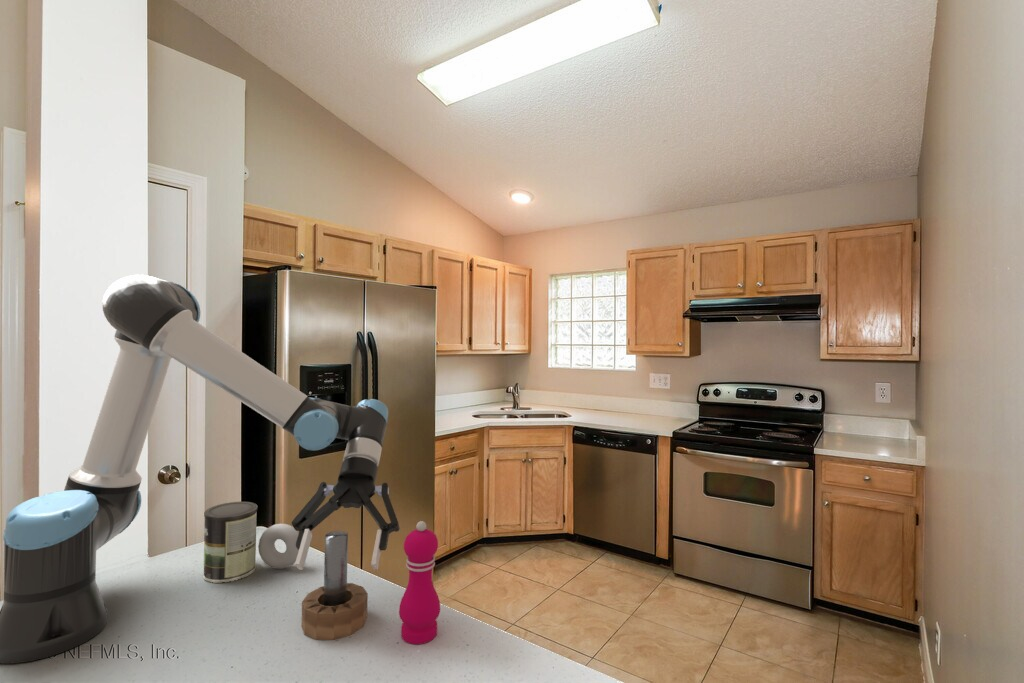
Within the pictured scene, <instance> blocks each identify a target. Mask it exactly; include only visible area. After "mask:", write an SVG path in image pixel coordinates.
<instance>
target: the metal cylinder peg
mask: <svg viewBox="0 0 1024 683" xmlns="http://www.w3.org/2000/svg"><path fill="white" fill-rule="evenodd" d="M348 544H349V533H348V532H347V531H344V530H336V531H331V532H328V533H326V534H325V535H324V565H323V566H324V569H323V570H324V572H323V586H324V606H337V605H341V604H344V603H346V602H347V583H348V553H349V552H348V551H349V550H348V549H349V545H348Z"/></svg>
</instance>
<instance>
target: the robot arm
mask: <svg viewBox="0 0 1024 683" xmlns="http://www.w3.org/2000/svg"><path fill="white" fill-rule="evenodd" d="M101 304H102V312H103V314H104V317H105V319H106V321H107V322H108V323H109V325H110V326H111V327H113V329H115V333H114V336H113V339H114V340H115V342H116V343H117V345H119V348H120V349H119V353H118V355H117V358H116V361H115V365H114V368H113V371H112V374H111V377H110V380H109V382H108V385H107V389H106V392H105V395H104V399H103V401H102V405H101V408H100V411H99V414H98V415H97V416H98V417H97V420H96V423H95V426H94V429H93V432H92V435H91V439H90V442H89V444H88V448H87V451H86V454H85V456H84V460H83V463H82V465H80V466H79V467H78V468H76V469H73V470H72V471H70V472H69V475H68V477H67V480H66V483H65V486H64V490H60V491H55V492H50V493H46V494H44V495H43V496H36V497H33V498H30V499H28V500H26V501H23V502H21V503H19V504H18V505H16V506H15V507H14V508H13V509H11V510H10V512H9V513H8V515H7V517H6V519H5V529H4V530H3V538H2V539H3V542H4V544H3V546H4V548H3V549H4V552H3V555H4V556H3V561H4V562H3V570H4V571H3V602H2V606H1V607H0V664H20V663H21V664H22V663H28V662H31V661H32V662H33V661H36V660H37V661H38V660H43V659H46V658H49V657H52V656H55V655H59V654H61V653H63V652H66V651H69V650H71V649H74V648H76V647H78V646H80V645H82V644H84V643H86V642H88V641H89V640H91V639H93V638H94V637H95V636H97V635H98V634H100V632H102V630H103V629H104V628H105V627H106V626H107V622H108V607H107V605H106V603H105V602H104V600H103V597H102V595H101V592H100V589H99V587H98V584H97V582H96V580H97V579H96V578H97V577H96V569H97V568H96V567H97V566H96V565H97V551H98V550H100V548H102V547H103V546H104V545H106V544H107V543H108V542H110V541H111V540H112V539H114V538H115V537H116V536H119V534H121V533H123V532H124V531H125V530H126V529H127V528H128V527H129V526H130V525H131V524H132V522H134V520H135V519H136V518H137V516H138V514H139V512H140V509H141V506H142V495H141V491H140V490H139V489H140V486H141V483H142V479H143V478H142V476H141V475H140V473H138V471H137V466H138V464H139V461H140V457H141V454H142V451H143V448H144V444H145V442H146V439H147V435H148V431H149V428H150V426H151V422H152V419H153V416H154V414H155V411H156V408H157V404H158V401H159V397H160V394H161V391H162V388H163V385H164V381H165V379H166V375H167V372H168V369H169V366H170V363H171V361H172V360H171V359H174V360H175V361H176V362H178V363H179V364H182V365H183V366H185V367H186V368H188V369H189V370H190V371H193V372H194V373H196V374H198V375H199V376H200V377H202V378H203V379H205V380H207V381H208V382H210V383H211V384H213V385H214V386H216V387H218V388H219V389H221V390H222V391H223V392H225V393H227V394H229V395H230V396H232V398H235V399H236V400H237V401H239V402H241V403H242V404H244V405H245V406H247V407H249V408H250V409H251V410H253V411H255V412H256V413H257V414H260V415H261V416H262V417H264V418H266V419H267V420H269V421H270V422H272V423H274V424H275V425H277V426H278V427H279V428H281V429H283V430H284V431H286V432H287V433H288V434H290V435H292V436H293V437H294V439H295V441H296V443H298V445H299V446H300V447H301V448H303V449H305V450H307V451H319V450H323V449H325V448H327V447H328V446H330V444H332V442H334V441H335V439H340V440H346V441H347V443H346V446H345V447H346V448H345V451H344V454H343V456H342V457H343V458H342V462H341V466H340V469H339V473H338V476H337V481H336V483H334V485H333V484H327V483H326V482H325V481H322V482H321V483H319V486H318V489H317V490H316V493H315V494H314V495H313V496H312V497H311V498H310V499H309V501H308V502H307V503H306V504H305V505H304V507H303V508H302V509H301V510H300V511H299V512H298V514H297V515H296V516H295V517H294V518H293V520H292V521H291V525H292V527H293V528H294V529H295V530H296V531H297V532H298V533H299V535H298V538H297V541H296V547H297V549H298V550H299V552H298V555H297V559H296V562H295V563H294V565H295V566H296V568H297V569H298V570H299V571H300V570H304V567H305V564H306V561H307V560H306V559H307V556H308V553H309V548H310V545H311V541H312V538H313V533H312V530H314V529H315V528H316V527H318V526H319V525H320V524H321V523H323V521H324V520H325V519H327V518H329V516H330V515H331V514H333V513H334V512H335V511H338V510H339V509H340V508H342V507H343V508H345V509H350V508H354V509H360V508H361V507H363V506H364V507H365V509H366V511H367V512H368V513H369V514H370V516H371V517H372V519H373V520H374V522H375V523H376V525H377V526H378V527H379V529H377V530H376V537H375V542H374V545H373V546H374V547H373V550H372V551H373V552H372V558H371V562H370V563H371V564H370V566H371V568H372V570H373V571H378V568H379V564H380V557H381V551H386V550H387V548H388V542H389V536H390V534H391V533H393V532H395V533H396V532H399V531H400V525H399V521H398V518H397V515H396V513H395V510H394V507H393V504H392V502H391V499H390V488H389V484H388V482H383V483H382V484H381V485H376V480H377V475H378V470H379V468H378V467H379V465H380V459H381V456H382V450H383V447H384V446H383V444H384V440H385V435H386V431H387V427H388V418H389V409H388V406H387V405H386V403H383V402H382V401H381V400H378V399H375V398H370V399H367V398H366V399H363V400H360V401H359V402H358V403H357V405H356V406H354V405H347V404H342V403H338V402H335V401H329V400H325V399H321V398H319V397H310V396H308V395H306V394H305V393H304V392H302V391H300V389H298V388H296V387H295V386H293V385H291V384H290V383H289V382H287V381H286V380H285V379H283V378H281V377H280V376H278V375H277V374H275V373H274V372H272V371H271V370H269V369H268V368H267V367H265V366H264V365H262V364H260V363H259V362H257V361H256V360H254V359H253V358H252V357H250V356H249V355H247V354H246V353H244V352H243V351H241V350H239V349H238V348H237V347H235V346H233V344H230V343H229V342H228V341H226V340H225V339H224V338H222V337H220V336H218V335H217V334H216V333H215V332H212V331H211V330H210V329H208V328H207V327H205V326H204V325H202V324H200V323H199V322H200V319H201V306H200V304H199V301H198V299H197V298H196V296H195V295H194V294H193V293H192V292H191V291H190V290H188V289H187V288H185V287H184V286H182V285H181V284H179V283H175V282H173V281H169V280H164V279H161V278H157V277H154V276H149V275H146V274H145V275H144V274H141V275H140V274H134V275H129V276H128V275H127V276H125V277H122V278H120V279H118V280H116V281H115V282H113V283H112V284H111V285H110V286H109V287H108V288H107V290H106V291H105V293H104V295H103V298H102V303H101ZM331 493H333V494H334V495H332V496H331V497H330V498H329V499H328V501H327V502H326V503H324V502H325V500H326V498H327V497H329V496H330V494H331ZM376 493H377V495H378V497H380V498H382V501H383V504H384V506H385V510H386V513H387V515H388V518H389V521H390V522H389V523H388V522H387V521H386V520H385V518H384V516H382V514H381V513H380V511H379V510H378V508H377V507H376V506H375V504H374V503H373V501H372V500H371V498H373V496H374V495H375V494H376ZM323 503H324V504H323ZM322 504H323V505H322ZM321 505H322V506H321ZM320 506H321V507H320ZM319 507H320V508H319ZM318 508H319V509H318Z"/></svg>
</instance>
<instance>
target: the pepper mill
mask: <svg viewBox="0 0 1024 683" xmlns="http://www.w3.org/2000/svg"><path fill="white" fill-rule="evenodd" d="M438 548H439V540H438V537H437V535H436V534H435V532H434V531H432V530H430V529H428V528H427V523H426V522H425V521H423V520H420V521H418V522H417V523H416V528H415V529H414V530H412V531H410V532H409V533H408V534H407V535H406V536H405V539H404V542H403V550H404V553H405V555H406V556H407V558H406V560H405V561H406V564H405V567H406V569H407V570H408V573H409V575H408V582H407V586H406V588H405V590H404V593H403V596H402V597H401V598H400V599H401V600H400V603H399V608H398V616H399V619H400V620H401V621H402V624H401V627H400V628H401V632H400V633H401V638H402V640H403V641H404V642H406V643H408V644H411V645H422V644H426V643H428V642H431V641H432V640H434V639H435V638H436V636H437V634H438V621H437V619H438V618H439V615H440V613H441V602H440V597H439V595H438V593H437V591H436V589H435V587H434V584H433V576H432V573H433V568H434V567H435V565H436V562H435V561H436V557H435V554H436V553H437V551H438Z"/></svg>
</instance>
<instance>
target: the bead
mask: <svg viewBox="0 0 1024 683" xmlns="http://www.w3.org/2000/svg"><path fill="white" fill-rule="evenodd" d="M368 597H369V596H368V592H367V590H366V589H365V587H364V586H362V585H359V584H355V583H353V582H347V602H346V603H344V604H341V605H337V606H324V585H321V586H319V587H318V588H316V589H314V590H312V591H310V592H308V593H307V594H306V596H305V597H304V598H303V599H302V601H301V629H302V632H303V634H304V636H307V637H308V638H311V639H313V640H316V641H317V640H318V641H319V640H321V641H323V640H333V641H334V640H337V639H341V638H345V637H347V636H351V635H353V634H354V633H355V632H357V631H359V630H360V629H362V628H363V627H364V626H365V623H366V622H367V621H366V620H367V619H368Z"/></svg>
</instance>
